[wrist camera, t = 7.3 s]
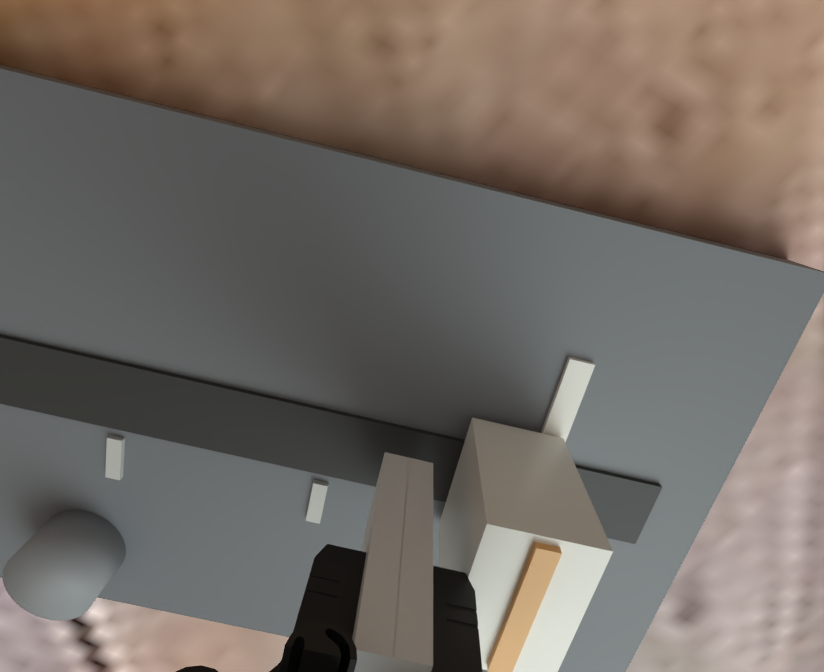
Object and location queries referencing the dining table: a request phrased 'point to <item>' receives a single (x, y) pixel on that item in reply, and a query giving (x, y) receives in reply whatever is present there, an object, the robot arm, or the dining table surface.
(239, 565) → the console board
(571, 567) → the fader tab
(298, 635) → the robot arm
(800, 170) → the dining table surface
